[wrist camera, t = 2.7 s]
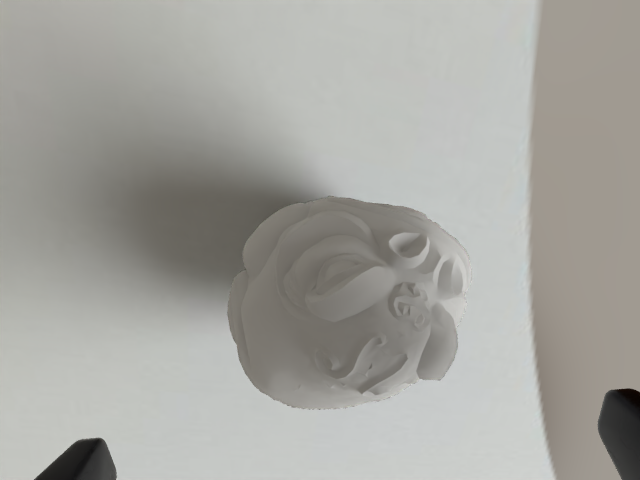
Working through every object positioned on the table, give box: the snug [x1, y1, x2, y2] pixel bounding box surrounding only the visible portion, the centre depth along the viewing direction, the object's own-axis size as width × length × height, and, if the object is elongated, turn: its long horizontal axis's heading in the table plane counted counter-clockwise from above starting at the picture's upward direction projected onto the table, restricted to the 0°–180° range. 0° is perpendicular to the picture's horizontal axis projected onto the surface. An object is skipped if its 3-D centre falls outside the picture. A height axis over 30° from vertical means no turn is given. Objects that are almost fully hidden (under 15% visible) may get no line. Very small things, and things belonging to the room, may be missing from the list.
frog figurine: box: [227, 196, 472, 410], centre depth 13 cm, size 6×7×7 cm
